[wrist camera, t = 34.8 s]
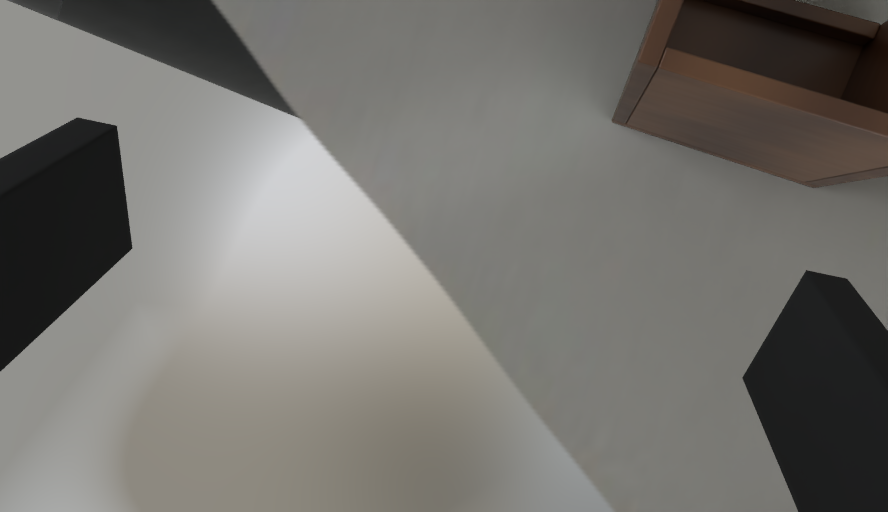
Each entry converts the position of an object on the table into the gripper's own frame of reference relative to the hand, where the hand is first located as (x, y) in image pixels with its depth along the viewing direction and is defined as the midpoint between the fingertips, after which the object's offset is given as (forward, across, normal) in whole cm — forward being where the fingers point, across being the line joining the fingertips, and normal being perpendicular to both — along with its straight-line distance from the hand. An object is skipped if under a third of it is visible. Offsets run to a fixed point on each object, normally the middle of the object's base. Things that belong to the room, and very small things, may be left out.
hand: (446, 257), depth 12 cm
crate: (+17, +10, +1) cm, 20 cm away
